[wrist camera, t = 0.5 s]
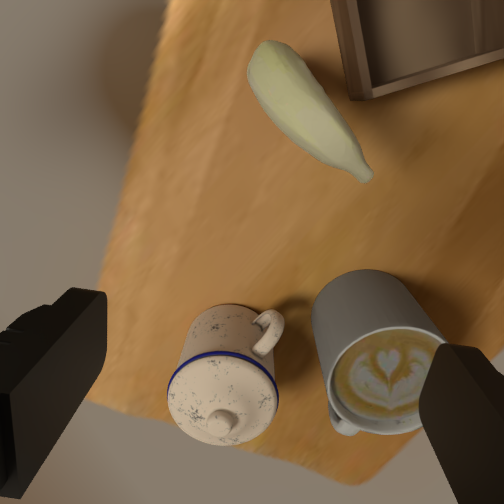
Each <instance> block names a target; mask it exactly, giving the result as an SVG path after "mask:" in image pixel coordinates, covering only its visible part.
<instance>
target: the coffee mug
mask: <svg viewBox="0 0 504 504" xmlns="http://www.w3.org/2000/svg"><path fill="white" fill-rule="evenodd" d="M311 324H312V329H313V333H314V338H315V342H316V347H317V351H318V356H319V360H320V365H321V369H322V374H323V378H324V383H325V387H326V392H327V395H328V398H329V401H328V408H329V416H330V420H331V423H332V425H333V427H334V429H335V430H336V431H337V432H339V433H341V434H343V435H347V436H353V435H355V434H356V433H358V432H359V430H362V431H365V432H368V433H374V434H380V435H392V434H401V433H406V432H410V431H414V430H417V429H419V428H421V427H423V425H422V423H421V420H420V416H419V397H420V393H421V390H422V388H423V385H424V382H425V379H426V377H427V374H428V371H429V368H430V366H431V363H432V360H433V357H434V355H435V352H436V350H437V348H438V346H439V345H440V344H442V343H448V341H447V340H446V339H445V338H444V336H443V335H442V334H441V332H440V331H439V330H438V328H437V327H436V326H435V325H434V323H433V322H432V321H431V319H430V318H429V317H428V315H427V314H426V313H425V311H424V310H423V309H422V308H421V306H420V305H419V304H418V302H417V301H416V300H415V298H414V297H413V296H412V295H411V293H410V292H409V291H408V289H407V288H406V287H405V286H404V284H403V283H402V282H400V281H399V280H398V279H397V278H395V277H393V276H392V275H390V274H387V273H384V272H381V271H377V270H357V271H352V272H348V273H346V274H343V275H341V276H339V277H337V278H335V279H334V280H332V281H331V282H330V283H328V284H327V285H326V286H325V287H324V288H323V289H322V291H321V292H320V293H319V295H318V296H317V298H316V300H315V302H314V305H313V307H312V313H311Z"/></svg>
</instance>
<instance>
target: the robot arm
mask: <svg viewBox="0 0 504 504" xmlns="http://www.w3.org/2000/svg"><path fill="white" fill-rule="evenodd" d="M106 352H107V296H106V293H105V292H102V291H95V290H88V289H81V288H75V287H72V288H70V289H69V290H67V291H66V292H65V293H64V294H63V295H62V296H61V297H60V298H59V299H58V300H57V301H56V302H54V303H53V304H52V305H42V306H40V307H37V308H35V309H33V310H31V311H28V312H26V313H24V314H22V315H21V316H20V317H18V318H17V319H16V320H15V321H14V322H13V323H11V324H10V325H9V326H8V327H7V328H6V331H2V332H1V333H0V496H2V497H8V498H15V499H21V497H22V496H23V494H24V492H25V491H26V489H27V488H28V486H29V485H30V483H31V482H32V480H33V478H34V476H35V475H36V474H37V472H38V470H39V469H40V467H41V465H42V464H43V463H44V461H45V459H46V458H47V456H48V455H49V453H50V451H51V450H52V448H53V446H54V445H55V444H56V442H57V440H58V439H59V437H60V436H61V434H62V432H63V431H64V429H65V428H66V426H67V425H68V423H69V421H70V420H71V418H72V417H73V415H74V413H75V412H76V410H77V409H78V407H79V405H80V404H81V402H82V401H83V399H84V398H85V396H86V394H87V393H88V391H89V390H90V388H91V387H92V385H93V383H94V382H95V380H96V379H97V377H98V375H99V374H100V372H101V370H102V367H103V365H104V361H105V357H106ZM419 416H420V420H421V423H422V425H423V427H424V430H425V432H426V434H427V436H428V438H429V440H430V443H431V445H432V447H433V449H434V451H435V454H436V456H437V458H438V460H439V462H440V465H441V467H442V469H443V471H444V473H445V476H446V478H447V480H448V482H449V484H450V487H451V488H452V491H453V493H454V495H455V497H456V499H457V502H458V504H504V375H502V374H501V373H500V372H498V371H497V370H496V369H495V368H494V366H493V365H492V364H491V363H490V361H489V360H488V359H487V358H486V357H485V355H484V354H483V353H482V352H481V351H480V350H479V349H478V348H475V347H469V346H462V345H456V344H449V343H442V344H440V345H439V346H438V348H437V350H436V352H435V355H434V357H433V360H432V363H431V366H430V368H429V371H428V374H427V377H426V379H425V382H424V385H423V388H422V390H421V393H420V397H419Z"/></svg>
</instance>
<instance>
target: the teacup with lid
mask: <svg viewBox="0 0 504 504" xmlns="http://www.w3.org/2000/svg"><path fill="white" fill-rule="evenodd" d="M269 324H270V325H269ZM268 325H269V326H268ZM284 325H285V322H284V318H283V316H282V315H281V314H280V313H279V312H277V311H276V310H273V309H270V310H267V311H265V312H263V313H262V314H260V315H258V314H257V313H256V312H254V311H252V310H250V309H248V308H246V307H243V306H239V305H230V304H229V305H219V306H215V307H212V308H210V309H208V310H206V311H204V312H203V313H201V314H200V315H199V316H198V317H197V318H196V319H195V320H194V321H193V323H192V324H191V326H190V328H189V331H188V334H187V337H186V341H185V344H184V347H183V350H182V353H181V357H180V360H179V363H178V366H177V369H176V371H175V372H174V374H173V375H172V377H171V379H170V382H169V385H168V389H167V400H168V406H169V410H170V412H171V415H172V417H173V419H174V420H175V422H176V423H177V424H178V426H179V427H180V428H181V429H182V430H183V431H184V432H186V433H187V434H188V435H190V436H192V437H193V438H195V439H197V440H199V441H202V442H205V443H208V444H213V445H223V446H227V445H236V444H241V443H244V442H247V441H249V440H252V439H253V438H255V437H257V436H258V435H260V434H261V433H262V432H263V431H264V430H265V429H266V428H267V427H268V426H269V425H270V423H271V422H272V420H273V418H274V416H275V414H276V411H277V408H278V403H279V394H278V389H277V385H276V383H275V372H274V351H273V347H274V346H275V345H276V343H277V342H278V340H279V339H280V337H281V335H282V333H283V330H284Z"/></svg>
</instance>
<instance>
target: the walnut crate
mask: <svg viewBox="0 0 504 504" xmlns="http://www.w3.org/2000/svg"><path fill="white" fill-rule="evenodd" d="M330 2H331V7H332V12H333V17H334V22H335V27H336V32H337V37H338V42H339V47H340V53H341V58H342V63H343V68H344V73H345V78H346V83H347V88H348V93H349V98H350V101H366V100H369V99H372V98H376V97H379V96H382V95H385V94H389V93H392V92H395V91H398V90H402V89H405V88H408V87H411V86H415V85H418V84H421V83H425V82H428V81H431V80H434V79H438V78H441V77H444V76H447V75H451V74H454V73H457V72H460V71H464V70H467V69H470V68H473V67H477V66H480V65H483V64H487V63H490V62H493V61H496V60H500V59H503V58H504V0H330Z"/></svg>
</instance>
